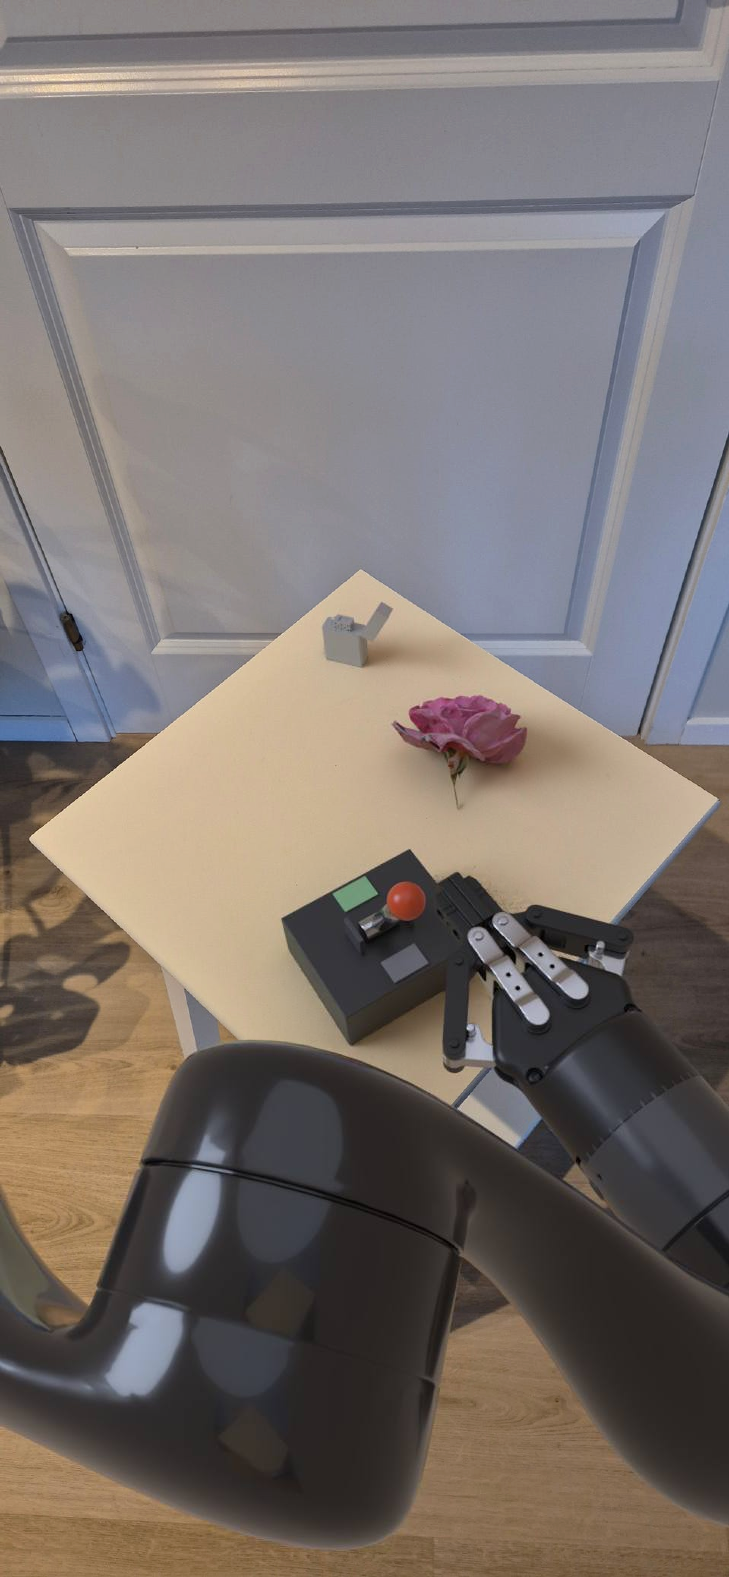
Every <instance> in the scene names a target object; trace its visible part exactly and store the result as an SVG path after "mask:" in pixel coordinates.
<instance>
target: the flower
mask: <svg viewBox="0 0 729 1577" xmlns="http://www.w3.org/2000/svg"><path fill="white" fill-rule="evenodd" d="M408 716H409V719H410V721H411V722H412V723H413V725H414V726H415V727H416V728H417V729H418V730H417V729H414V728H409V727H405V726H403V725H402V724H400V723H399V722H398V721H397V720H396V719H395V720H393V722H392V723H390V726H392V727H393V728H394V730H396V732H397V733H398V734H399V736H400V737H401V739H402V741H403V742H405V743H406V744H409V745H411V746H413V747H415V748H419V749H424V750H429V751H432V752H435V753H436V754H440V755H442V756H443V757H444V758H445V760H446V762H447V768H448V769H449V771H450V772H449V773H450V776H449V777H450V779H451V782H452V785H453V790H454V795H455V796H454V797H455V803H456V804H455V805H456V809H457V810H458V809H459V803H458V802H459V801H458V796H457V792H456V783H457V778H459V779H461V774H462V773H463V772H464V770H465V769H466V768H467V766H468V764H469V762H470V758H474V759H479V760H480V761H481V762H488V763H490V764H506V763H508V762H511V761H512V760H514V759H515V758H516V757H517V756H519V755H520V754H521V752H522V751H523V750H524V748H525V745H526V743H527V736H528V727H527V726H524V727H523V726H522V727H518V728H516V725H517V723H518V722H519V720H520V719H521V718H522V717H521V715H519V714H514V713H512V709H511V708H510V707H508V706H507V704H505V703H503V702H497V701H495V700H494V699H493V698H491V699H490V698H488V697H486V696H484V695H481V694H479V695H472V696H471V697H469V696H465V695H458V696H456V697H454V698H450V697H449V698H448V697H442V696H439V697H437V698H435V699H434V700H426V701H423V703H422V705H420V704H418V705H415V706H413V707H412V706H411V708H409V709H408Z"/></svg>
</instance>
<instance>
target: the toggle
mask: <svg viewBox="0 0 729 1577" xmlns="http://www.w3.org/2000/svg"><path fill="white" fill-rule="evenodd" d="M425 904H426V898H425V894H424V892H423V891H422V889H421V888H420V887H419V886H418V885H416V884H414V883H412V882H401V883H398V884H396V885H395V886H394V887H392V889H391V890H390V891H389V893H388V896H387V904H386V905H385V906H384V907H383V908H382V909H380V910H379V911H377V912H376V913H374V914H372V915H370V916H368V917H367V918H365V919H363V920H361V921H360V922H358V923H357V925H358V929H359V931H360V933H361V935H362V936H363V938H364V939H365V940H366V941H369V940H371V939H373V938H374V937H376V936H378V935H380V934H381V933H383V932H385V931H387V930H388V929H390V928H392V927H394V926H396V925H397V924H399V923H400V922H401V920H403V921H409V920H413V919H415V918H417V917H418V916H420V915H421V913H422V912H423V910H424V908H425Z"/></svg>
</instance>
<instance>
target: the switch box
mask: <svg viewBox="0 0 729 1577" xmlns="http://www.w3.org/2000/svg"><path fill="white" fill-rule="evenodd" d="M401 882H412V883H414V884H416V885H418V886H419V887H420V888H421V889H422V891H423V892H424V894H425V898H426V904H425V908H424V910H423V912H422V913H421V915H420V916H418V917H417V918H415V919H413V920H409V921H403V920H401V922H400V923H399V924H397V925H396V926H394V927H392V928H390V929H388V930H387V931H385V932H383V933H381V934H380V935H378V936H376V937H374V938H373V939H371V940H369V941H366V940H365V939H364V938H363V936H362V935H361V933H360V931H359V929H358V925H357V923H358V922H360V921H361V920H363V919H365V918H367V917H368V916H370V915H372V914H374V913H376V912H377V911H379V910H380V909H382V908H383V907H384V906H385V905H386V904H387V896H388V893H389V891H390V890H391V889H392V887H394V886H395V885H396V884H398V883H401ZM436 883H437V881H436V880H435V878H433V876H432V875H431V873H429V871H428V870H427V869H426V867H425V866H424V865H423V863H422V862H421V861H420V860H419V858H418V857H417V855H415V853H414V852H413V851H412V850H411V848H409V849H407V850H404V851H403V852H401V853H399V854H397V855H395V856H393V857H391V858H390V859H388V860H386V861H384V862H383V863H380V864H378V865H377V866H375V867H373V868H371V869H369V870H368V871H366V872H364V873H362V874H360V875H359V876H357V877H355V878H353V879H351V880H349V881H348V882H345V883H344V884H342V885H340V886H338V887H336V888H334V889H333V890H331V891H329V892H327V893H325V894H323V895H321V896H320V897H318V898H316V899H314V900H312V901H311V902H309V903H307V904H305V905H303V906H301V907H299V908H298V909H296V910H294V911H292V912H290V913H288V914H287V915H285V916H283V917H281V920H280V921H281V923H282V928H283V933H284V937H285V941H286V945H287V950H288V951H289V953H290V954H291V956H292V958H293V959H294V961H295V962H296V964H297V965H298V967H299V968H300V970H301V972H302V973H303V975H304V976H305V978H306V979H307V981H308V982H309V984H310V986H311V988H312V989H313V990H314V992H315V993H316V995H317V997H318V998H319V1000H320V1001H321V1003H322V1005H323V1006H324V1007H325V1009H326V1011H327V1012H328V1014H329V1015H330V1017H331V1019H332V1020H333V1022H334V1023H335V1025H336V1026H337V1028H338V1030H339V1031H340V1033H341V1034H342V1037H344V1039H345V1040H346V1043H347V1045H349V1046H352V1045H354V1044H356V1043H358V1042H359V1041H361V1040H363V1039H364V1038H366V1037H368V1036H370V1035H371V1034H373V1033H374V1032H376V1031H378V1030H380V1029H381V1028H383V1027H385V1026H386V1025H388V1024H390V1023H391V1022H393V1021H394V1020H396V1019H398V1018H399V1017H401V1016H403V1015H405V1014H407V1013H408V1012H410V1011H411V1010H413V1009H415V1008H416V1007H418V1006H420V1005H422V1004H423V1003H425V1002H427V1001H428V1000H430V999H431V998H433V997H434V996H437V995H438V994H440V993H442V992H443V991H446V977H447V961H448V957H449V955H450V954H451V953H453V952H455V951H458V950H459V948H460V947H461V946H460V945H459V943H458V942H457V941H456V940H455V938H454V937H453V936H452V935H451V933H450V932H449V931H448V929H447V928H446V927H445V926H444V924H443V923H442V922H441V921H440V919H439V918H438V917H437V915H436V911H435V897H434V896H435V895H436Z"/></svg>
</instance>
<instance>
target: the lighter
mask: <svg viewBox="0 0 729 1577" xmlns="http://www.w3.org/2000/svg"><path fill="white" fill-rule="evenodd" d="M393 610H394V608H393V607H391V606H390V605H388V604H386V603H385V602H383V601H380V603H379V604H378V606H377V608H376V609H375V611H374V612H373V614H372V616H371V617H370V619H369V620H368V622H367V623H366V624H363V623H358V622H355V618H354V617H353V616H348V615H343V614H339V613H338V614H336V615H335V616H333V617H332V616H327V617H326V618H325V620H324V622H323V624H322V626H321V631H322V632H321V633H322V640H323V649H324V657H325V659H326V660H329V661H333V662H337V663H342V664H345V665H349V666H352V667H357V668H363V667H364V666H365V664H366V663H367V660H368V658H369V651H368V650H369V649H368V642H370V643H373V642H374V641H375V639H376V638H377V637H378V635H379V633H380V632H381V630H382V629H383V627H384V625H385V624H386V623H387V621H388V619H389V618H390V615H391V614H392V612H393Z"/></svg>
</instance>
